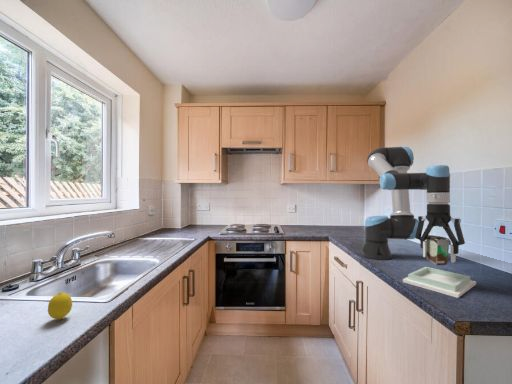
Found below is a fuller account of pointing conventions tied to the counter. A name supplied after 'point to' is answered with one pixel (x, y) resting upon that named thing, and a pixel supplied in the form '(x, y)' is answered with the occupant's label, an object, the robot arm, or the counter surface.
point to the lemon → (59, 306)
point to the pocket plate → (440, 281)
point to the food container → (438, 249)
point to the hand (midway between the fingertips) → (438, 259)
